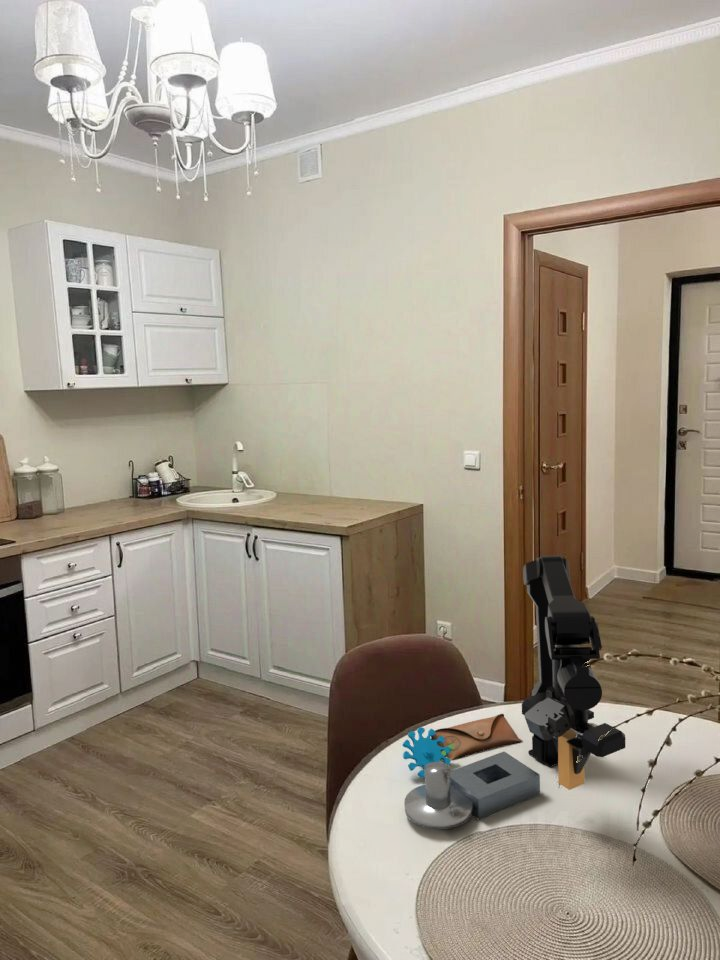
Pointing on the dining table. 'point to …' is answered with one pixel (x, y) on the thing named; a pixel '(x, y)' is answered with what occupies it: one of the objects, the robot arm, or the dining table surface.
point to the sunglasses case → (477, 736)
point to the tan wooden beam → (568, 763)
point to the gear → (426, 750)
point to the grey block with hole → (470, 791)
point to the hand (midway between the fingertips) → (571, 769)
